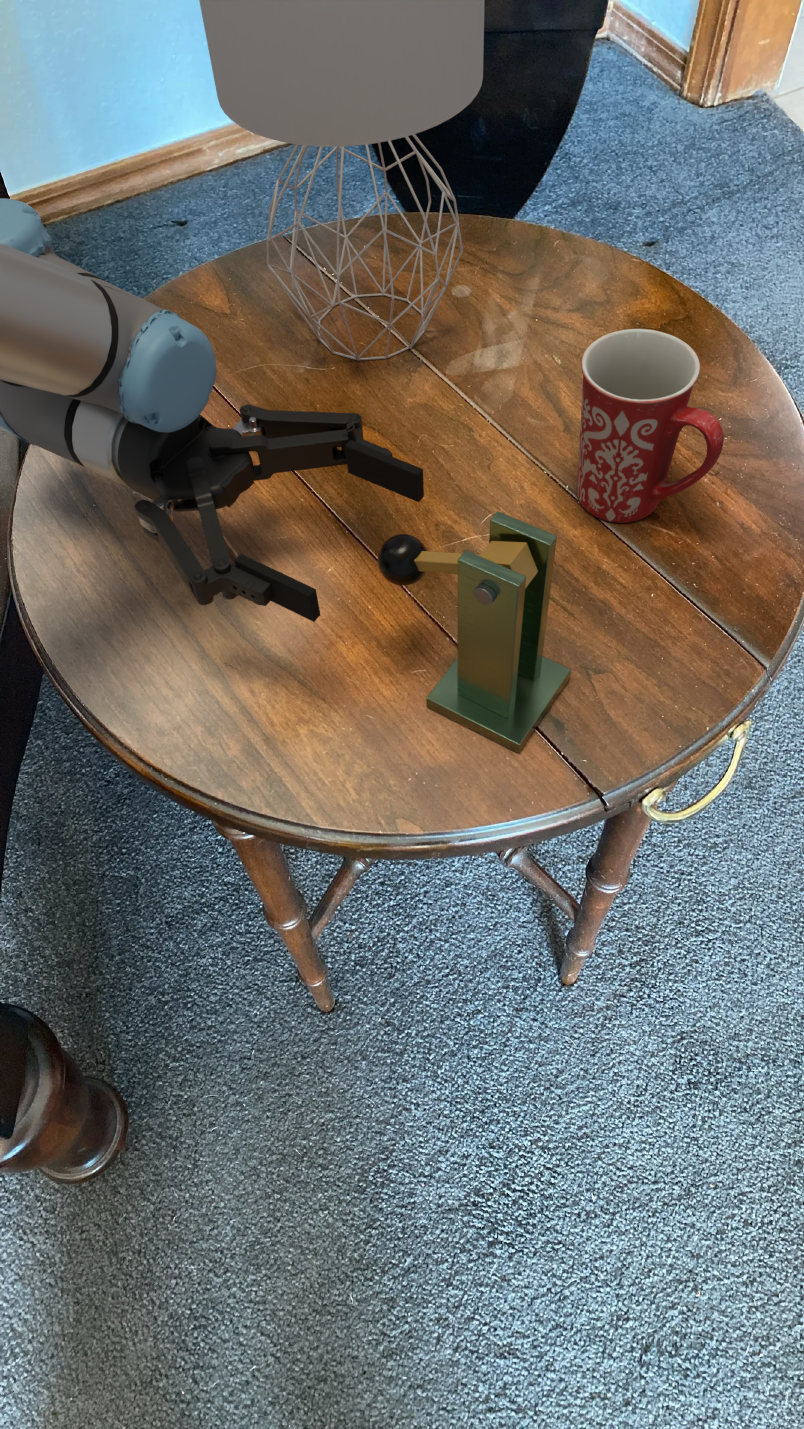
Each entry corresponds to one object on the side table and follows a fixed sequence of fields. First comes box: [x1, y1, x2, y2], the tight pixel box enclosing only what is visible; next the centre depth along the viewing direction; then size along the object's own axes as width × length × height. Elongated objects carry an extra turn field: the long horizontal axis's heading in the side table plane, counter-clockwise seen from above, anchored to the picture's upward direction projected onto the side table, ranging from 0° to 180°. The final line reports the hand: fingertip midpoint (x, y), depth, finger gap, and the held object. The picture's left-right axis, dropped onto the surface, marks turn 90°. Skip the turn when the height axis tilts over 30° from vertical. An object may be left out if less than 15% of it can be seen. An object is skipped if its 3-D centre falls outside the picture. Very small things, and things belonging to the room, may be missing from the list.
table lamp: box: [198, 0, 485, 362], centre depth 84 cm, size 22×22×40 cm
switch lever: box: [377, 533, 538, 589], centre depth 66 cm, size 12×4×4 cm, turn 57°
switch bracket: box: [425, 511, 572, 754], centre depth 68 cm, size 8×8×16 cm
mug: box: [576, 328, 725, 524], centre depth 79 cm, size 13×9×14 cm
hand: (370, 543), depth 69 cm, fingers open, 13 cm apart
